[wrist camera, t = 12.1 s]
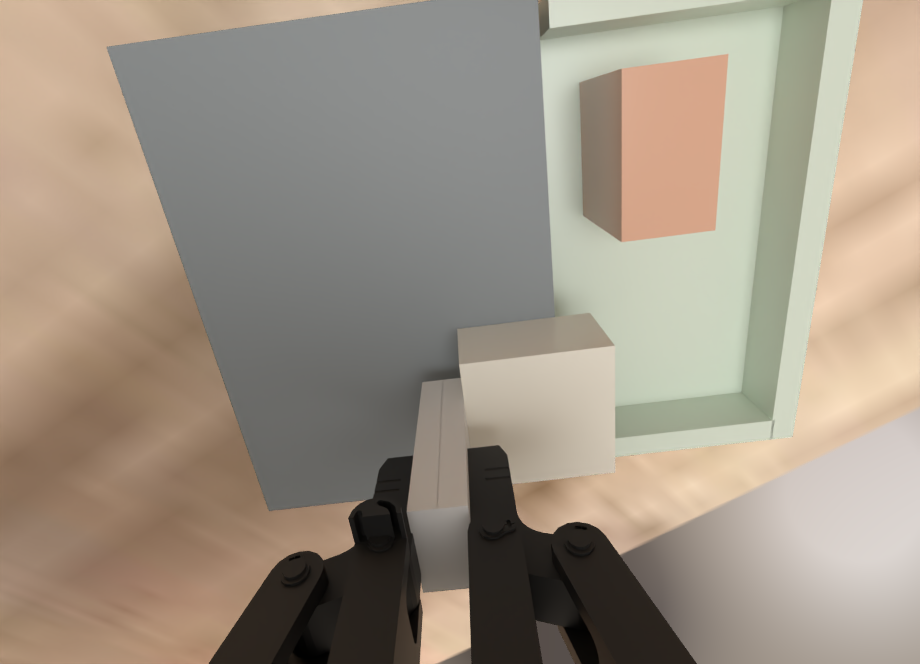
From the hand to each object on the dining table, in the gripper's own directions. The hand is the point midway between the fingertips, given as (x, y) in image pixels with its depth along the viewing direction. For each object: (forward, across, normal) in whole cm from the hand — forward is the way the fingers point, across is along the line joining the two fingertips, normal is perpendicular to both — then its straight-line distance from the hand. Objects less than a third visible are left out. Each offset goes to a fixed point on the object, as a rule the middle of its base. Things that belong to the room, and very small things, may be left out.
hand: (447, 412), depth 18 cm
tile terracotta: (+3, +6, +8) cm, 11 cm away
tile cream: (+2, +3, 0) cm, 4 cm away
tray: (+6, +9, +4) cm, 12 cm away
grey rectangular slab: (+6, -2, +4) cm, 7 cm away
